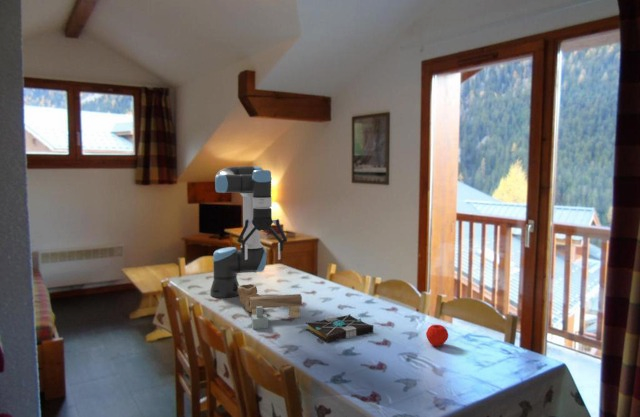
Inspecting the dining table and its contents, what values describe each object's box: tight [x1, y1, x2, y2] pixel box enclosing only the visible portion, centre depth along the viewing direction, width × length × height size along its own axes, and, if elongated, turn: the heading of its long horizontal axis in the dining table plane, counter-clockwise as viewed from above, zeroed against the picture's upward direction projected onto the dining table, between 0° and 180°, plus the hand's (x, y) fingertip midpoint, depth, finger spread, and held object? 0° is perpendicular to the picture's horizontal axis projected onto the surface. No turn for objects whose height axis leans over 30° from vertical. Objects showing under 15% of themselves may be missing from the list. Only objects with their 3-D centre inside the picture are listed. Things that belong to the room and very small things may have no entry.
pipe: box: [238, 283, 261, 313], centre depth 218 cm, size 9×16×10 cm, turn 26°
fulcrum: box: [251, 306, 269, 330], centre depth 194 cm, size 6×6×8 cm
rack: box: [251, 306, 301, 319], centre depth 206 cm, size 5×20×5 cm, turn 103°
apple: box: [425, 324, 449, 347], centre depth 174 cm, size 8×8×7 cm
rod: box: [250, 293, 303, 309], centre depth 205 cm, size 4×22×4 cm, turn 103°
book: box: [305, 313, 374, 344], centre depth 188 cm, size 22×17×5 cm
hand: (262, 259), depth 197 cm, fingers open, 13 cm apart
